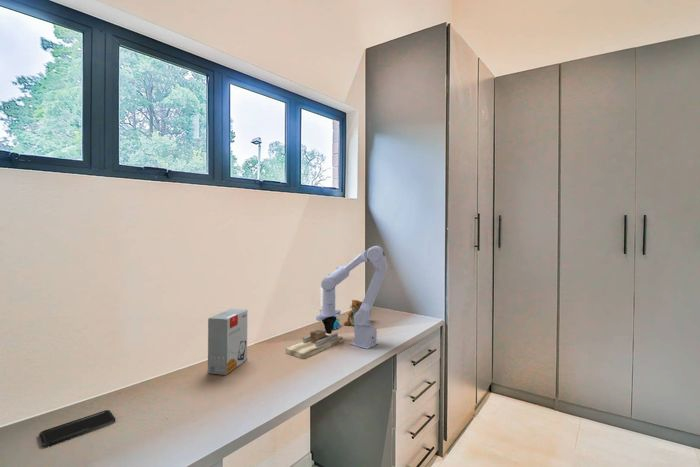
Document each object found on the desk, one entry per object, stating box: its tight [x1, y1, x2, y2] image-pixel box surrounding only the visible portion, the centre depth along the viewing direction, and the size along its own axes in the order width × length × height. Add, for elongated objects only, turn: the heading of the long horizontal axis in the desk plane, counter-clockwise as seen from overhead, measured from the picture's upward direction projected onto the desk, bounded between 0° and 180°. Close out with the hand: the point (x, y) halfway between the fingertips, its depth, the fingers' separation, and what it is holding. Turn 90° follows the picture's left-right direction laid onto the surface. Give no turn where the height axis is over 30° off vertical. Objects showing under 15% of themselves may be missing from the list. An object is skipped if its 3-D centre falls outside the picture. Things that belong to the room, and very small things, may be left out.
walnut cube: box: [309, 329, 326, 343], centre depth 152 cm, size 4×4×4 cm
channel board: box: [285, 329, 344, 360], centre depth 151 cm, size 10×26×4 cm, turn 143°
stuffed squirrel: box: [343, 299, 363, 326], centre depth 186 cm, size 10×14×13 cm
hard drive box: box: [207, 308, 248, 376], centre depth 131 cm, size 16×8×20 cm, turn 168°
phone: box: [38, 410, 116, 448], centre depth 91 cm, size 8×1×15 cm
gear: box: [332, 315, 341, 330], centre depth 180 cm, size 11×6×10 cm
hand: (328, 333), depth 158 cm, fingers closed
